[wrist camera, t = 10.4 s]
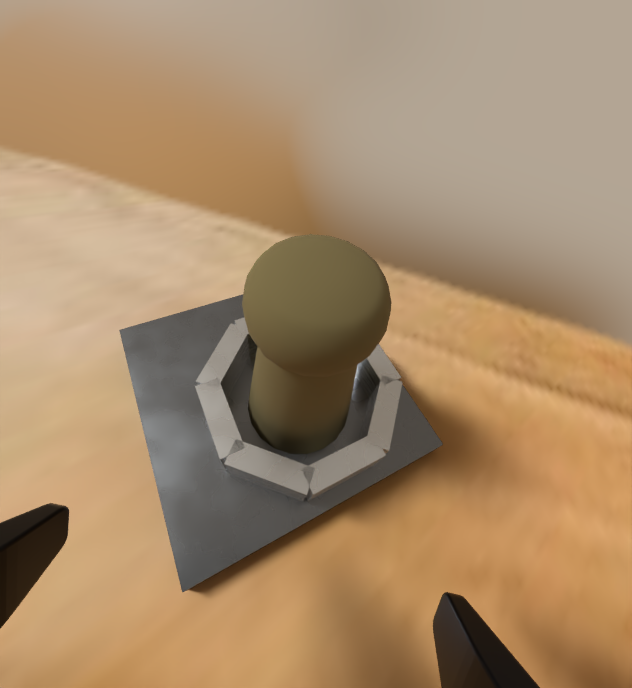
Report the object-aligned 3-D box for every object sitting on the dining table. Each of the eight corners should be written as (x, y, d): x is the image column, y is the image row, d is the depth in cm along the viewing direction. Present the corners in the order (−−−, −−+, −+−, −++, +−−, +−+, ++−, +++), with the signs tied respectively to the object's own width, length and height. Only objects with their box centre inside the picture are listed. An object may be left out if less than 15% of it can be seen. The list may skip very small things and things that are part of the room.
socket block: (435, 448, 20) (464, 431, 17) (187, 590, 15) (166, 600, 12) (323, 279, 26) (330, 245, 23) (125, 338, 21) (102, 305, 18)
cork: (298, 478, 17) (327, 396, 8) (226, 400, 19) (181, 258, 10) (368, 404, 20) (453, 278, 10) (300, 342, 22) (320, 188, 12)
